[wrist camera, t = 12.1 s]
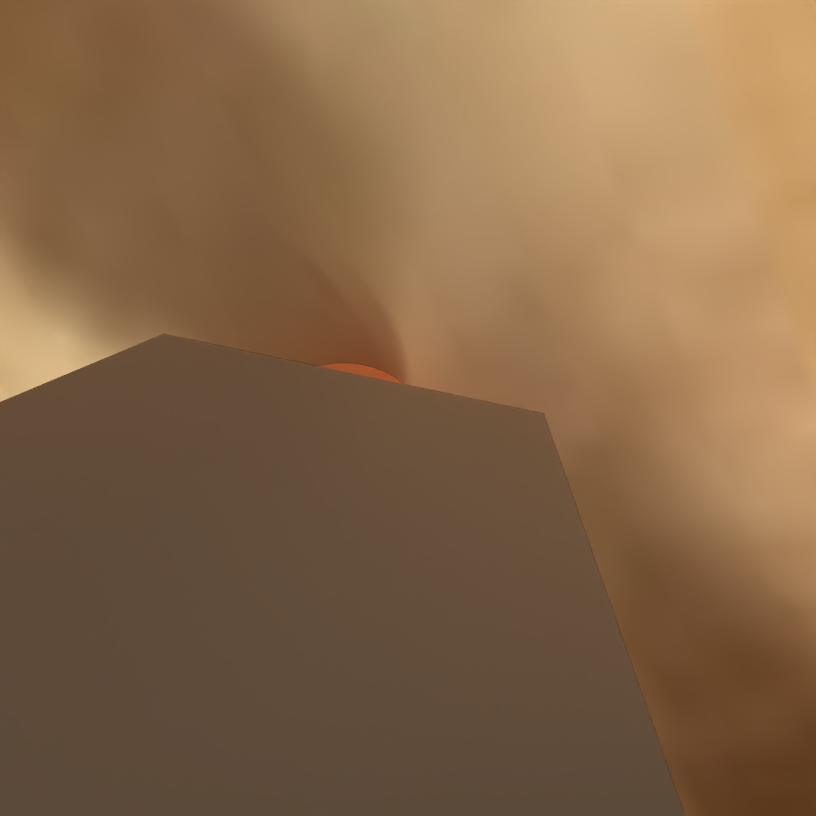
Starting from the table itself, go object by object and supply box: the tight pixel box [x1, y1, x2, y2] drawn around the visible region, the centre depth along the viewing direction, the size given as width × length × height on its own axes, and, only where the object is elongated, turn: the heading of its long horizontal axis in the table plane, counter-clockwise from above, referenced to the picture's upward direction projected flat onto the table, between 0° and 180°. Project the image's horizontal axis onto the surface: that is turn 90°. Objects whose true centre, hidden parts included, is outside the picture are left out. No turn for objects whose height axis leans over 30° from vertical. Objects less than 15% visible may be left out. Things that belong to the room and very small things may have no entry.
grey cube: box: [0, 334, 685, 816], centre depth 8 cm, size 8×8×9 cm
